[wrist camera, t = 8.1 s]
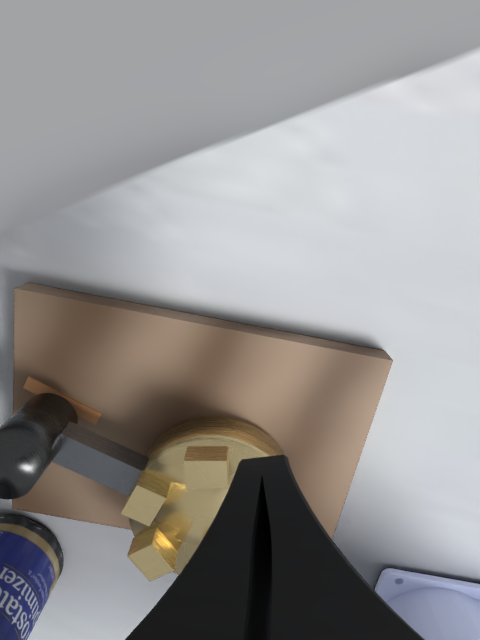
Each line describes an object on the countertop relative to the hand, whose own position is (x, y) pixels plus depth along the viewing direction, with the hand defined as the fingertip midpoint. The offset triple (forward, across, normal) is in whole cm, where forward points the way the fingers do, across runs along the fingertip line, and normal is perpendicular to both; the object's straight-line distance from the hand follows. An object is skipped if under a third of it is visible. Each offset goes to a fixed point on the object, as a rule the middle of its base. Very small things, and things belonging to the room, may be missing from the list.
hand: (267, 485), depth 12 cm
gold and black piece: (+8, +6, +4) cm, 11 cm away
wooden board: (+9, +4, +4) cm, 11 cm away
